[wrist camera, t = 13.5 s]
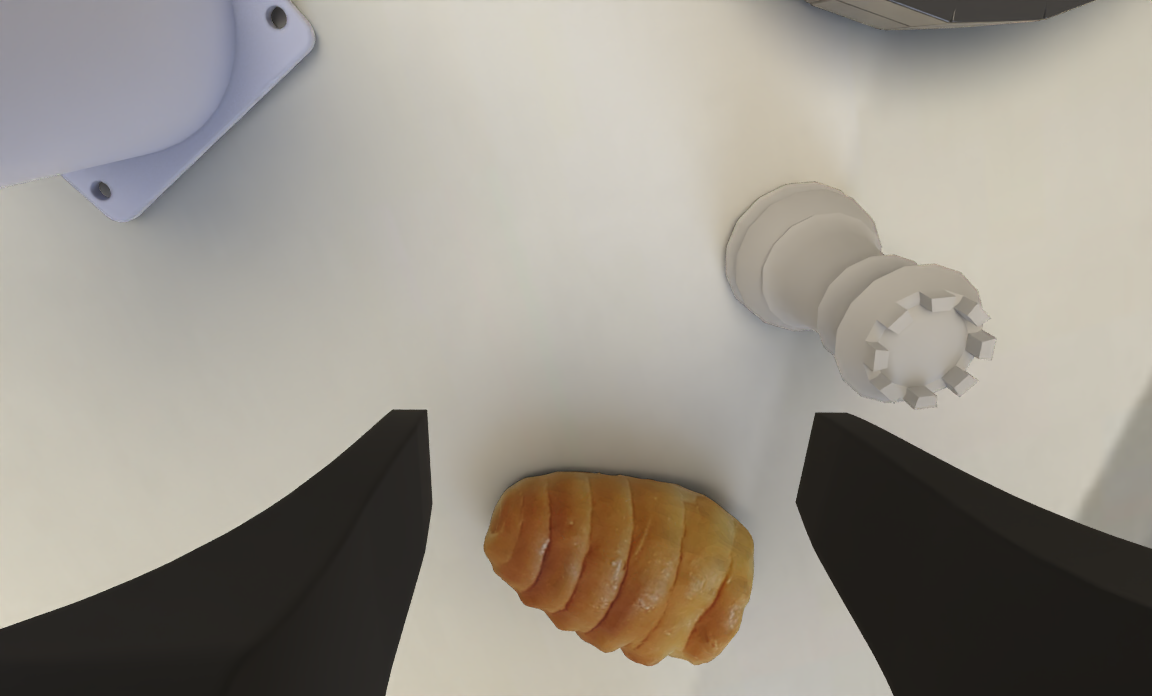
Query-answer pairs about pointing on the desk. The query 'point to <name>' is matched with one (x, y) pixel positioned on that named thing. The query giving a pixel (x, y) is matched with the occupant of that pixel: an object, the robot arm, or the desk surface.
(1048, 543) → the robot arm
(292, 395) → the desk surface
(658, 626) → the pastry
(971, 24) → the pan
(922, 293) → the rook chess piece
